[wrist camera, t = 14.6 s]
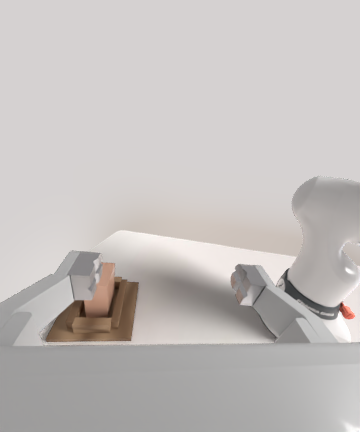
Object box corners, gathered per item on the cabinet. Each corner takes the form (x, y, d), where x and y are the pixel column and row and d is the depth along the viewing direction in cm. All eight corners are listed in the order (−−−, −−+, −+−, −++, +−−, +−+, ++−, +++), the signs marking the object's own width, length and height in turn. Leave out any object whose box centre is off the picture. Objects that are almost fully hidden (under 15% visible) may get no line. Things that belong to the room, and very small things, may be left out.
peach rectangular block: (114, 294, 43) (114, 263, 38) (107, 318, 38) (107, 286, 33) (95, 293, 42) (93, 261, 37) (86, 318, 37) (82, 285, 32)
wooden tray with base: (138, 284, 48) (139, 275, 46) (130, 340, 36) (131, 330, 34) (77, 281, 45) (75, 271, 43) (46, 341, 33) (42, 330, 31)
